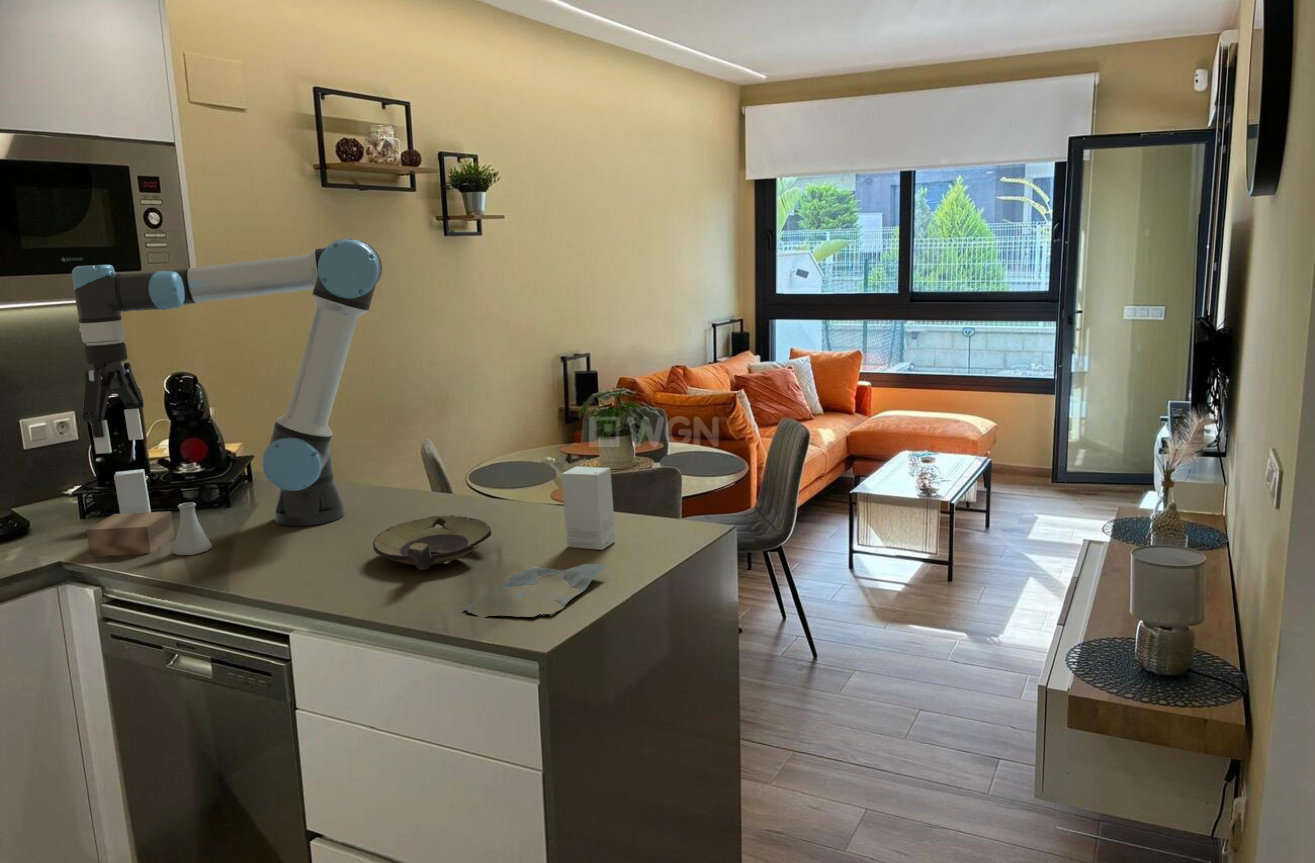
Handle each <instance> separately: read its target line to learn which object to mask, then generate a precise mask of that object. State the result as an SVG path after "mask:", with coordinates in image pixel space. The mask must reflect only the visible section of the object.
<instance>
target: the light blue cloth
mask: <svg viewBox="0 0 1315 863" xmlns="http://www.w3.org/2000/svg"><path fill="white" fill-rule="evenodd" d="M607 566H608V564H601V563H600V564H599V563H583V564H579V565H577V566H575V567H573V566H572V567H570V568H567V569H555V568H547V567H539V566H532V568H529V569H525V570H523V571H521V572H518V573H516V574H514V575H512V576H511V577H510V578H509V579H508V580H507V581H505V582H504V583H503V584H502V586H501V587H500V588H504V587H505V588H508V587H511V588H512V587H517V586H523V585H535V584H537V583H538V581H539V580H538V579H537V580H538V581H537V580H536V578H539V576H542V577H544V576H543V575H548V574H549V575H554V574H555V575H557V577H556V578H558V577H559V578H560V579H559V578H558V579H559V580H561V579H562V580H565V581H567V582H568V584H569V585H570V587H571V588H575V589H578V591H579V593H577V594H576V593H575V594H576V595H574V594H573V595H574V596H572V595H570V596H566V597H565V596H563V597H564V598H558V597H555V598H553V599H554V601H556V602H557V603H559V604H561V606H563V607H564V608H565V606H566V605H567V604H568V602H570V600H572V599H573V598H575V597H576V596H578V595H580V594H581V593H582V592H584V591H585V590H586V589H588V587H589V585H590V583H591V582H592V581H593V579H594V578H595V577H597V576H598V575H599V573H600V572H602V571H603V570H604V569H605V568H606V567H607ZM551 573H553V574H551ZM549 575H548V576H549ZM555 575H554V576H555ZM539 579H540V578H539ZM562 580H561V581H562ZM565 581H564V582H565ZM535 586H536V585H535ZM512 589H513V588H512ZM522 591H523V590H522ZM522 591H520V592H521V593H520V592H519V593H518V595H517V594H515V595H516V598H519V599H520V598H523V597H525V596H526V594H527V593H526V591H523V592H522ZM547 594H548V593H546V594H541V595H543V596H547ZM476 602H477V601H474V602H473V603H470V604H468V605H466V606H465V607H464V608H462V609H461V610H463V611H466V612H467V611H468V610H470V609H471V608H470V607H473V606H474V604H476ZM537 603H538V602H537ZM538 604H540V603H538ZM554 614H556V613H554ZM554 614H551V615H550V616H553V615H554ZM541 615H542V616H544V615H543V614H541ZM541 615H540V616H541Z"/></svg>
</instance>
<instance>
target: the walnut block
mask: <svg viewBox="0 0 1315 863" xmlns="http://www.w3.org/2000/svg"><path fill="white" fill-rule="evenodd" d="M173 523H174V522H173V515H172V511H171V510H170V511H153V512H152V511H151V512H147V513H126V514H120V513H113V514H112V515H111V514H110V516H108V517H106V518H104V519H102V520H101V521H99V522H98V523H96V524H94V525H92V526H90V527H89V528H86V535H87V542H88V543H87V544H88V550H89V556H93V557H107V555H113V556H125V555H126V556H128V555H127V554H130V555H131V556H132V555H145V554H144V553H151V552H152V551H154V550H155V551H156V550H158V549H159V548H160V547H159V546H161V545H162V544H163V545H165V544H166V543H167V541H168V540H169V541H171V540H172V539H173V538H175V529H174V524H173ZM171 538H172V539H171ZM170 539H171V540H170ZM169 541H168V542H169ZM164 543H165V544H164ZM163 545H162V546H163ZM162 546H161V547H162ZM158 547H159V548H158ZM157 548H158V549H157ZM155 551H154V552H155ZM152 553H153V552H152ZM152 553H151V554H152ZM130 555H129V556H130Z"/></svg>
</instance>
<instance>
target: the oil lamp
mask: <svg viewBox="0 0 1315 863" xmlns="http://www.w3.org/2000/svg"><path fill="white" fill-rule="evenodd" d="M436 525H439V526H441V527H436ZM491 536H492V528H491V526H490V525H488V523H487V522H486V521H484V520H481V519H478V518H472V517H468V516H461V515H458V516H457V515H453V514H451V515H442V516H440V515H436V516H435V515H434V516H433V515H432V516H428V517H424V518H420V519H414V520H410V521H405V522H402V523H399V524H396V525H394V526H391V527H388V528H386V529H385V530H382V531H380V532H379V533H378V534H377V535H376V537H375V538H374V540H373V542H372V547H373V548H372V549H373V551H374V552H375V554H377V555H379V556H380V557H383V558H386V559H387V560H391V561H394V562H399V563H401V564H407V565H413V566H415V567H416V569H418V570H420V571H421V570H427V569H429V568H430V567H431V566H432V565H433V566H435V565H439V564H443V563H446V562H450V561H453V560H456V559H459V558H461V557H463V556H465V555H467V554H469V553H471V552H473V551H474V550H476V549H477V548H479V547H480V543H483V542H484V541H485V540H487V539H488V538H489V537H491Z"/></svg>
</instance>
